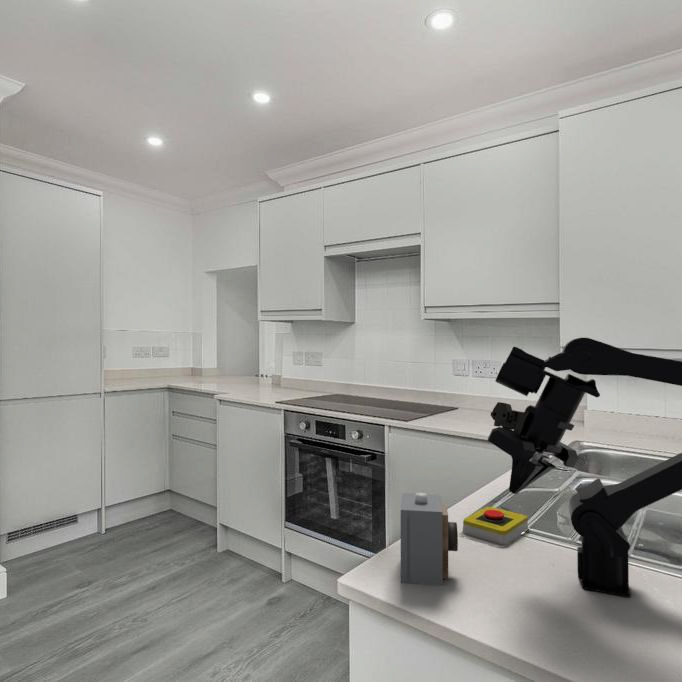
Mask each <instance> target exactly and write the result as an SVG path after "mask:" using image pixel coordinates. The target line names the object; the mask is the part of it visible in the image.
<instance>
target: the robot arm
mask: <svg viewBox="0 0 682 682" xmlns="http://www.w3.org/2000/svg"><path fill="white" fill-rule="evenodd" d="M546 368H548V369H550V370H552V371H555V372H563V371H571V372H573V373H576V374H578V375H586V376H588V375H589V376H590V375H591V376H622V377H623V376H625V377H626V376H627V377H634V378H638V379H642V380H643V379H644V380H649V381H653V382H659V383H666V384H669V385H675V386H679V387H682V361H680V360H675V359H670V358H663V357H658V356H657V357H656V356H652V355H645V354H641V353H640V354H639V353H634V352H631V351H627V350H625V349H622V348H619V347H617V346H614V345H611V344H608V343H605V342H602V341H599V340H597V339H593V338H589V337H579V338H574V339H571V340H570V341H568V342H567V343H566V344H565V345H564V347H563V348H562V351H561V352H559V353H557V354H555V355H553V356H548V358H547V359H545V360H544V359H542V358H540V357H537V356H535V355H533V354H530V353H528V352H526V351H525V350H523V349H522V348H519V347H517V346H513V347H512V349H511V351H510V353H509V355H508V357H507V358H506V360H505V362H503V363H502V365H501V367H500V370H499V372H498V374H497V377H495V380H494V382H495V383H497V384H499V385H501V386H504V387H506V388H508V389H510V390H512V391H514V392H517V393H519V394H520V395H523V396H525V397H528V395H529V393H531V394H536V395H537V394H538V392H539V390H540V388H541V386H542V384H543V382H544V380H545V378H546V376H548V380H546V381H547V382H546V383H545V385H544V388H543V390H542V392H541V394H540V396H539V398H538V399H537V402H536V403H535V405H531V404H530V405H527V407H526V408H525V409H524V411H518V410H514V409H513V407H512V405H511V404H509V403H506V402H502V401H501V402H499V401H498V402H496V404H495V406H494V407H493V408H492V411H491V412H490V416H491V418H492V420H493V421H494V422H493V426H494V427H495V428H491V431H490V434H489V435H488V437H487V441H488V442H489V443H491V444H492V445H494V446H495V447H497V448H498V449H500V450H502V451H503V452H504V453H506V454H508V455H509V456H510V457H511V472H510V478H509V479H510V480H509V488H508V491H509V492H510V493H512V494H513V495H517V494H519V493H520V492H522V491H523V490H524V489H526V488H527V487H529V486H530V485H531V484H533V483H534V482H535V481H536V480H537V481H538V479H540V478H542V477H543V476H544V475H546V474H548V473H549V472H551V471H552V470H555V469H556V468H557V467H556V465H554V464H553V463H551V462H550V461H551V457H550V456H552V457H554V458H557V459H558V460H559V461H562V463H563V464H562V465H563V466H564V467H567V468H574V467H575V465H576V464H577V462H578V460H579V457H578V454H577V453H578V452H577V451H576V450H575V449H573V448H572V447H570V446H569V445H567V444H565V443H563V442H562V439H563V438H564V436H565V433H566V431H567V430H568V431H571V432H572V431H573V429H574V427H575V424H573V423H572V422H571V421H572V420H573V417H574V416H575V414H576V412H577V410H578V408H579V406H580V404H581V402H582V400H583V398H584V396H585V394H588V395H590V396H593V397H595V398H600V396H601V393H600V392H599V390H598V388H597V383H596V380H595V379H593V378H591V379H589V380H584V379H582V378H579V377H577V376H575V375H573V374H571V373H568V374H567V375H566V376H565V378H563V377H561V376H559V375H557V374H555V373H551V372H549V371H547V370H545V369H546ZM575 490H576V493H575V494H573V495H572V496H571V497H570V500H569V501H568V502H569V503H568V512H569V516H570V522H571V525H572V527H573V530H574V531H576V533H577V534H578V535H579V536H581V538H580V539H581V541H580V542H581V546H578V547H577V548H576V549H577V550H576V551H577V554H576V555H577V557H576V558H577V563H576V564H577V578H578V579H579V580H581V587H582V589H584V590H589V591H594V592H600V593H604V594H605V593H606V594H612V595H617V596H621V597H628V598H630V597H632V592H631V589H630V586H629V581H630V580H629V577H630V576H629V575H630V574H629V568H630V566H629V565H630V564H629V551H630V548H631V545H630V542H629V540H628V538H627V535H626V534H625V532H624V530H623V526H624V525H625V524H626V523H627V522H628V521H629V520H630V518H631V517H633V516H634V514H636V513H637V512H638V511H639V510H642V509H644V508H646V507H648V506H650V505H652V504H655V503H656V502H659V501H661V500H663V499H665V498H668V497H670V496H671V495H673V494H676V493H678V492H680V491H682V452H680V453H678V454H675V455H674V456H671V457H670V458H668V459H666V460H663V461H662V462H660V463H657V464H656V465H655V464H654V466H651V467H649V468H647V469H646V470H643V471H641V472H640V473H637V474H635V475H633V476H631V477H629V478H627V479H625V480H623V481H620V482H619V483H615V484H607V485H604V484H603V482H602V481H601V479H600V478H596V479H595V480H593V481H592V482H591V483H589V484H588V485H586V486H583V487H576V488H575Z"/></svg>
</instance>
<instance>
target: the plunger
mask: <svg viewBox="0 0 682 682" xmlns="http://www.w3.org/2000/svg"><path fill="white" fill-rule="evenodd" d="M441 505H442V512H443V579H449V552H458V547H459V545H458V544H459V543H458V542H459V541H458V540H459V539H458V537H459V533H458V524H457V522H455V521H449V512H448V506H447V504H441Z"/></svg>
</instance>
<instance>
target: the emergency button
mask: <svg viewBox="0 0 682 682" xmlns="http://www.w3.org/2000/svg"><path fill="white" fill-rule="evenodd" d="M462 523H463V524H462V531H461V532H459V533H458V536H459V535H461V536H463V537H462V538H464V537H466V538H465V539H468V538H469V539H468V540H471V539H472V540H471V541H474V540H475V542H477V541H479V542H478V543H481V542H482V544H484V543H485V545H487V544H488V546H491V545H492V546H491V547H494V546H495V548H499V549H504V548H506V547H507V546H509V545H510V544H511V543H513V542H514V541H515V539H516V538H517V539H518V538H520V537H521V536H522V535H521V533H522V532H523V531H525V530H526V529H528V524H529V523H528V516H527V515H525V514H521V513H516V512H512V511H509V510H506V509H505V510H504V509H501V508H496V507H492V506H486V507H484V508H482V509H479V510H478V511H476V512H475V513H474V512H473V513H472V514H471V515H469V516H467V517H464V518H463V521H462ZM520 535H521V536H520ZM461 536H460V537H461ZM519 536H520V537H519ZM517 539H516V540H517ZM512 541H513V542H512ZM508 544H509V545H508Z"/></svg>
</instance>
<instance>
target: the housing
mask: <svg viewBox="0 0 682 682" xmlns="http://www.w3.org/2000/svg"><path fill="white" fill-rule="evenodd" d="M401 493H402V495H401V501H400V583H405V584H418V585H430V586H431V585H432V586H433V585H434V586H443V585H444V584H443V583H444V581H443V580H444V578H443V512H442V505H443V504H442V500H441V494H433V493H432V494H430V493H424V492H416V493H409V492H401Z"/></svg>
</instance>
